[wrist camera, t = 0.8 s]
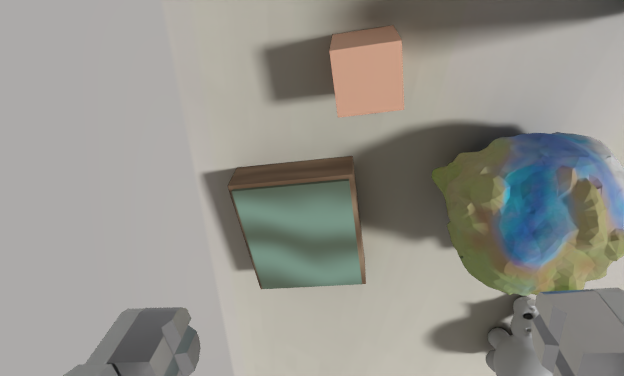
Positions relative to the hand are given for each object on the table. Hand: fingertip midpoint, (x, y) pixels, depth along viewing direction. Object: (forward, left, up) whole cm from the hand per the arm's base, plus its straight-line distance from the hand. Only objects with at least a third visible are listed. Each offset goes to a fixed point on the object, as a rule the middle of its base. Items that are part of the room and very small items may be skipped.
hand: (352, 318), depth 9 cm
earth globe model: (+15, +13, -28) cm, 34 cm away
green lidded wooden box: (+17, -7, -28) cm, 33 cm away
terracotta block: (+1, +1, -28) cm, 28 cm away
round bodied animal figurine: (+36, +17, -28) cm, 49 cm away
